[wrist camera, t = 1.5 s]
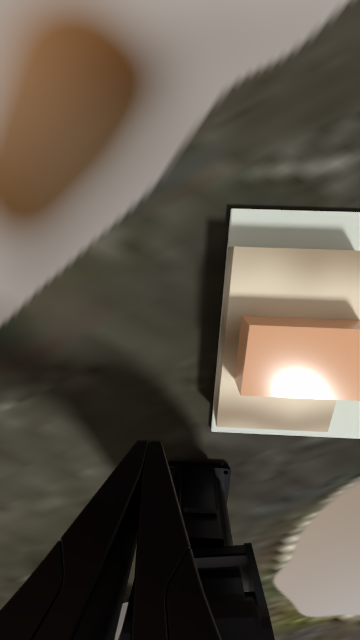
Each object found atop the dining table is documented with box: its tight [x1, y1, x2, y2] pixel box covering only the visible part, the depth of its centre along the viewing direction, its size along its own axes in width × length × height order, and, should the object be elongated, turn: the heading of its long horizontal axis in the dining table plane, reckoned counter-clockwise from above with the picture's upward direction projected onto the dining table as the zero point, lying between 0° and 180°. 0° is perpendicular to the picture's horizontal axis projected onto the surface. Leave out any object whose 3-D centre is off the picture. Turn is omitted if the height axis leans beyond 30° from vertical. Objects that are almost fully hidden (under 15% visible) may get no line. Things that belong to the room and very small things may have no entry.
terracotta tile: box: [234, 316, 360, 401], centre depth 15 cm, size 5×8×2 cm, turn 88°
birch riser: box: [213, 247, 360, 432], centre depth 17 cm, size 14×9×2 cm, turn 178°
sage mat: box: [211, 209, 360, 439], centre depth 18 cm, size 19×19×1 cm
